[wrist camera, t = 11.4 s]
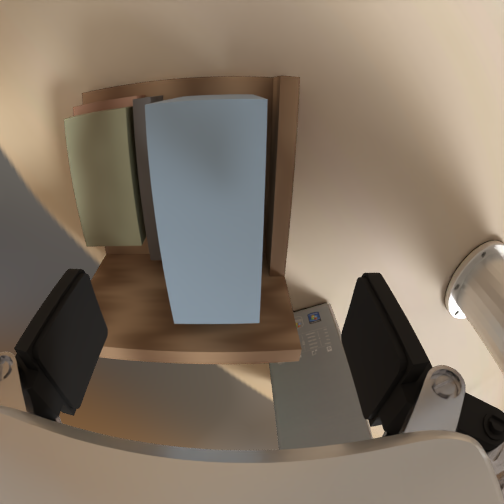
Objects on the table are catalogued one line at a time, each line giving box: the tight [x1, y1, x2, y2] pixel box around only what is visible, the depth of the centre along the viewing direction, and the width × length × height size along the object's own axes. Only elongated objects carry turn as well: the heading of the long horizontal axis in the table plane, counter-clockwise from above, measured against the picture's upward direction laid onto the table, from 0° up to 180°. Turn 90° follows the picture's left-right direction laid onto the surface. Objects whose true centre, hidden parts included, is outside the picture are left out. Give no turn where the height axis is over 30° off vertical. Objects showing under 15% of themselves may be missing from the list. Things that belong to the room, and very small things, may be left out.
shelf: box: [64, 76, 302, 364], centre depth 18 cm, size 16×16×12 cm
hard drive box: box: [269, 303, 373, 450], centre depth 27 cm, size 16×8×20 cm, turn 16°
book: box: [145, 94, 268, 324], centre depth 18 cm, size 5×12×10 cm, turn 179°
